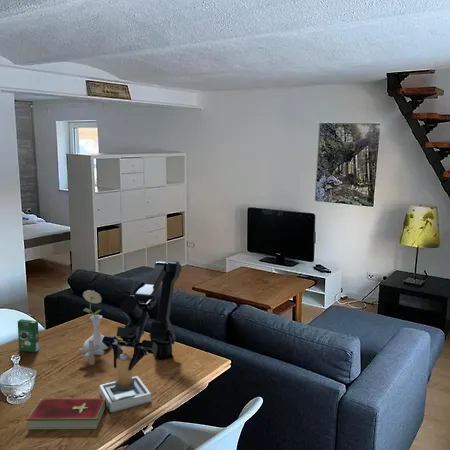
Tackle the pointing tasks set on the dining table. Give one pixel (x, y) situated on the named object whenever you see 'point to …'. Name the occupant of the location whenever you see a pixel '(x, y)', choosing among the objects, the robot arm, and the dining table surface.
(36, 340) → the coffee box
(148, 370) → the dining table surface
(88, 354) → the pipe connector
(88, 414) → the hardcover book
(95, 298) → the flower in vase
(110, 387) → the box
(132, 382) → the beige bottle
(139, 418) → the dining table surface
